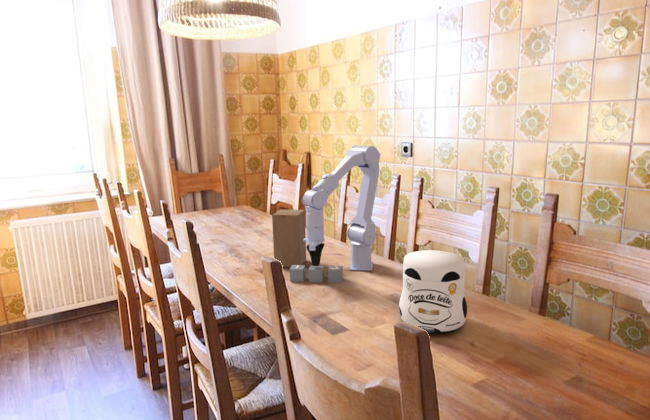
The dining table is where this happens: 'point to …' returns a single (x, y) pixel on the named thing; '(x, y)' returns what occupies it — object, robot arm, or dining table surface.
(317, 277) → the plain block
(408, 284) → the milk container
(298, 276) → the block marked 1
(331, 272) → the block marked 7
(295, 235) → the wooden block
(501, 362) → the dining table surface
